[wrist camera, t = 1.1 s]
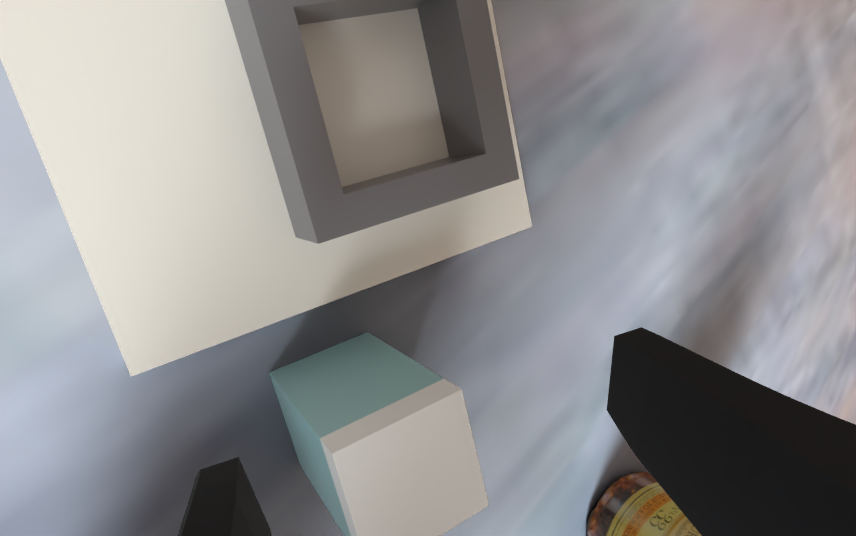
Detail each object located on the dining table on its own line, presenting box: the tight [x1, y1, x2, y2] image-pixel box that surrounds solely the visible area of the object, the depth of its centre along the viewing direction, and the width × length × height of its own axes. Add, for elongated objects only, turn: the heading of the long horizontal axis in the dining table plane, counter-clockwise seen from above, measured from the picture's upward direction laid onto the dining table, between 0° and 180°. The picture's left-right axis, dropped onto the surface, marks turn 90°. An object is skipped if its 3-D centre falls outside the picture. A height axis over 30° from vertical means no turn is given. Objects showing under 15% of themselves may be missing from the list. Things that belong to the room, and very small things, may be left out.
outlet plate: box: [0, 0, 532, 377], centre depth 18 cm, size 11×16×4 cm
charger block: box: [269, 332, 489, 536], centre depth 18 cm, size 4×4×7 cm
